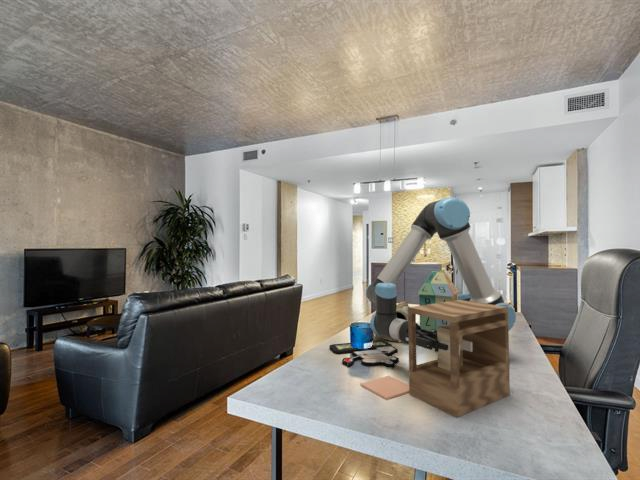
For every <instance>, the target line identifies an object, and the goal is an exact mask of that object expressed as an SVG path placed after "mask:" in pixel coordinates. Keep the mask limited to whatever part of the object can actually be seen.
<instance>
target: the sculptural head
mask: <svg viewBox="0 0 640 480" xmlns="http://www.w3.org/2000/svg"><path fill="white" fill-rule="evenodd" d="M408 307H410V306H409V304H408V302H406V301H404V300H403V301H401V302H398V304H397V318H399V319H403V320H407V321H408ZM375 314H376V310H375V311H374V312H373V313H372V315H371V318H372V317H373V316H374V315H375ZM373 333H374V335H376V336H377V337H379V338H380V339H382V340H385V341H389V342H390V341H392V342H399V341H398V340H394V339H391V338H388V337H385V336H381V335H379V334H377V333H375V332H373Z"/></svg>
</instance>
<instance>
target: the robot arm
mask: <svg viewBox="0 0 640 480" xmlns="http://www.w3.org/2000/svg"><path fill="white" fill-rule="evenodd" d="M470 217H471V210H470V208H469V206H468V205H467V203H466V202H465V201H464V200H462V199H460V198H457V197H445V198H441V199H438V200H436V201H435V200H434V201H431V202H429V203H428V204H427V205H425V206H424V207H423V209H421V211H419V213H418V215H417V216H416V218H415V219H414V221H413V223H412V224H411V225H410V231H409V233H408V234H407V235H406V236H405V238H404V239H403V240H402V242H401V243H400V245H399V246H398V248H396V250H395V251H394V253H393V254H392V256H391V257H390V259H389V260H388V262H386V265H385V266H384V267H383V269H382V270H381V271H380V273H379V274H378V276H377V277H376V278H375V279H374V282H372V283H371V284H369V285H367V286H366V288H365V296H366V298H367V299H368V301H369V302H370V303H373V304H374V305H375V311H376V314H375V315H374V316H373V315H372V316H373V317H372V316H371V319H370V322H369V327H370V329H371V331H372V332H373V333H374V332H375V333H377V334H379V335H381V336H385V337H388V338H391V339H394V340H398V341H397V342H398V343H404V344H407V345H409V334H408V321H407V320H403V319H399V318H397V305H398V304H397V302H398V301H397V297H398V296H397V294H398V293H397V285H396V284H397V283H398V281H399V280H400V279H401V277H402V276H403V274H404V273H405V271H407V270H408V269H407V268H408V267H409V266H410V264H412V261H414V259H415V258H416V256H417V255H418V253H419V252H420V251H421V249H422V248H423V246H424V245H425V244H426V242H427V240H432V238H433V236H434V235H435V234H436V233H437V235H438V238H439V239H440V240H442V241H445V243H446V245H447V247H448V249H449V252H450V254H451V256H452V258H453V260H454V262H455V264H456V266H457V269H458V271H459V273H460V275H461V278H462V280H463V282H464V284H465V286H466V289H467V291H468V293H460V294H459V295H457V300H465V301H472V302H479V303H485V304H492V305H499V306H506V307H508V329H509V331H511V330H512V328H514V326H515V323H516V321H517V313H516V310H515V309H514V307H513V306H511V305H510V304H509V303H507V302H506V301H505V300H504V298H503V296H502V294H501V292H500V291H498V290H496V289H495V288H494V287H493V284H492V282H491V279H490V277H489V275H488V273H487V271H486V269H485V267H484V266H485V265H484V264H483V262H482V260H481V257H480V255H479V253H478V251H477V249H476V247H475V244H474V242H473V240H472V237H471V234H470V233H469V232H470V229H471V225H470ZM375 333H374V334H375ZM416 347H421V348H423V349H427V350H430V351H432V350H433V349H434V352H435V353H438V348H439V350H443V351H446V352H449V353H450V342H446V341H443V340H439V342H438V340H437V330H435V329H432V331H429V330H426V329H421V328H420V324H419V323H418V322H416ZM462 349H463V350H466V351H470V352H472V351H473V350H472V342H470V341H466V340H463V339H462ZM459 355H460V345H459Z"/></svg>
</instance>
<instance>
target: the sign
mask: <svg viewBox="0 0 640 480" xmlns="http://www.w3.org/2000/svg"><path fill="white" fill-rule="evenodd" d="M372 341H373V345H372V347H371V348H368V349H358V348H353V347H352V346H351V343H352V342H344V343H335V344H332V343H331V344H330V345H329V347H328V348H329V350H330V352H332V353H333V354H335V355H339V356H340V355H347V354H348V355H350V354H352V357H343V358H342V359H341V361H342V362H341V365H342V366H345V367H346V368H348V369H349V368H351V367H353V365H354V364H355V362H358V361H360V363H361V366H363V367H368V368H370V367H371V368H372V367H373V368H374V367H385V368H388V369H393V368H394V369H395V367H396V364H399V362H400V359H399V357H398V356H395V354H398V352H399V350H398V348H397V347H395V346H393V344H392V343H390V342H388V340H385V339H376V340H372Z"/></svg>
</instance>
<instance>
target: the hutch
mask: <svg viewBox="0 0 640 480" xmlns="http://www.w3.org/2000/svg"><path fill="white" fill-rule="evenodd" d="M416 315H418V316H420V315H422V316H426V317H431V318H435V319H440V320H445V321H449V322H450V367H451V371H448V370H445V369H443V368H440V367H438V358H437V359H435V360H430V361H427V362H423V363H420V364H417V345H416V323H417V321H416V320H417V317H416ZM459 327H460V328H459ZM509 333H510V330H509V329H508V307H506V306H499V305H492V304H485V303H479V302H472V301H465V300H458V299H457V300H455V301H448V302H442V303H435V304H428V305H421V306H420V305H414V306H409V307H408V334H409V344H408V370H409V371H408V378H409V379H408V381H409V382H408V383H409V384H408V385H409V393H408V394H409V396H411V397H413V398H415V399H418V400H420V401H422V402H424V403H425V404H428V405H430V406H432V407H434V408H436V409H438V410H440V411H441V412H444V413H447V414H448V415H450V416H452V417H455V418H459V417H461V416H463V415H465V414H468V413H471V412H472V411H475V410H478V409H480V408H483V407H485V406H487V405H489V404H491V403H494V402H496V401H500V400H501V399H503V398H506V397H508V396H511V395H510V394H511V390H510V389H511V388H510V342H509V341H510V337H509V335H510V334H509ZM459 336H462V339H463V340H466V341H470V342H472V350H473V351H472V352H470V351H466V350H463V369H460V370H459Z"/></svg>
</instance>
